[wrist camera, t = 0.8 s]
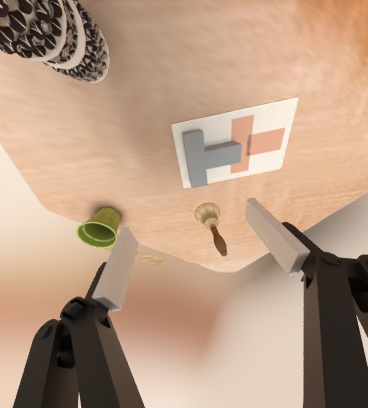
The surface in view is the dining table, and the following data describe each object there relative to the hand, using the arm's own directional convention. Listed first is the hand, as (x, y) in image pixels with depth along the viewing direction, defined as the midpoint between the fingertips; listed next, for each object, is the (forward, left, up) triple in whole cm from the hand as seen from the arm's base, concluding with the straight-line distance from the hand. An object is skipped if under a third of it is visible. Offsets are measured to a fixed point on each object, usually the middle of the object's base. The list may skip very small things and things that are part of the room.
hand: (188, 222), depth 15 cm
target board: (0, +14, -23) cm, 27 cm away
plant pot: (+12, -24, -23) cm, 35 cm away
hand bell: (+19, +6, -23) cm, 30 cm away
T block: (0, +8, -23) cm, 24 cm away
